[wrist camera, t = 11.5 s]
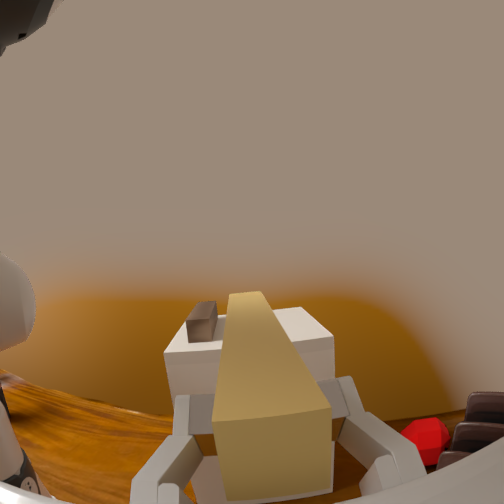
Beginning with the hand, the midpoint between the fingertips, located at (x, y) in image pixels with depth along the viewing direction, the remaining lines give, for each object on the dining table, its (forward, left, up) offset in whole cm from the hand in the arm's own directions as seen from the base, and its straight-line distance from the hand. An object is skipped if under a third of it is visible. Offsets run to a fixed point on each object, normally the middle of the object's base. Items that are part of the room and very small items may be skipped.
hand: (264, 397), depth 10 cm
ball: (+26, +27, -32) cm, 49 cm away
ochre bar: (0, +9, -2) cm, 9 cm away
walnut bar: (-6, +36, -6) cm, 37 cm away
